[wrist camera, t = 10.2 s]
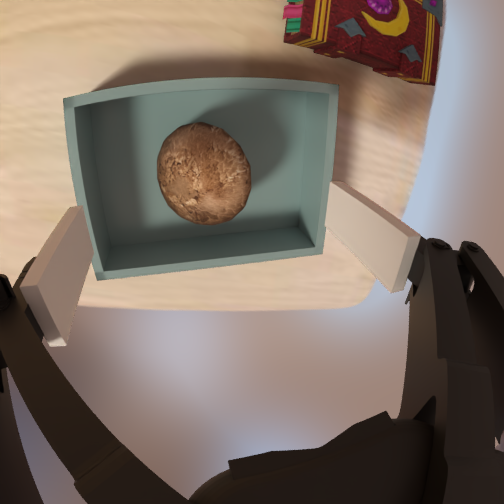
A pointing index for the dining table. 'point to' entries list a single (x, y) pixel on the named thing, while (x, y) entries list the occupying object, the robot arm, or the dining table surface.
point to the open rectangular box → (147, 187)
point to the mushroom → (203, 174)
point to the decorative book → (371, 33)
